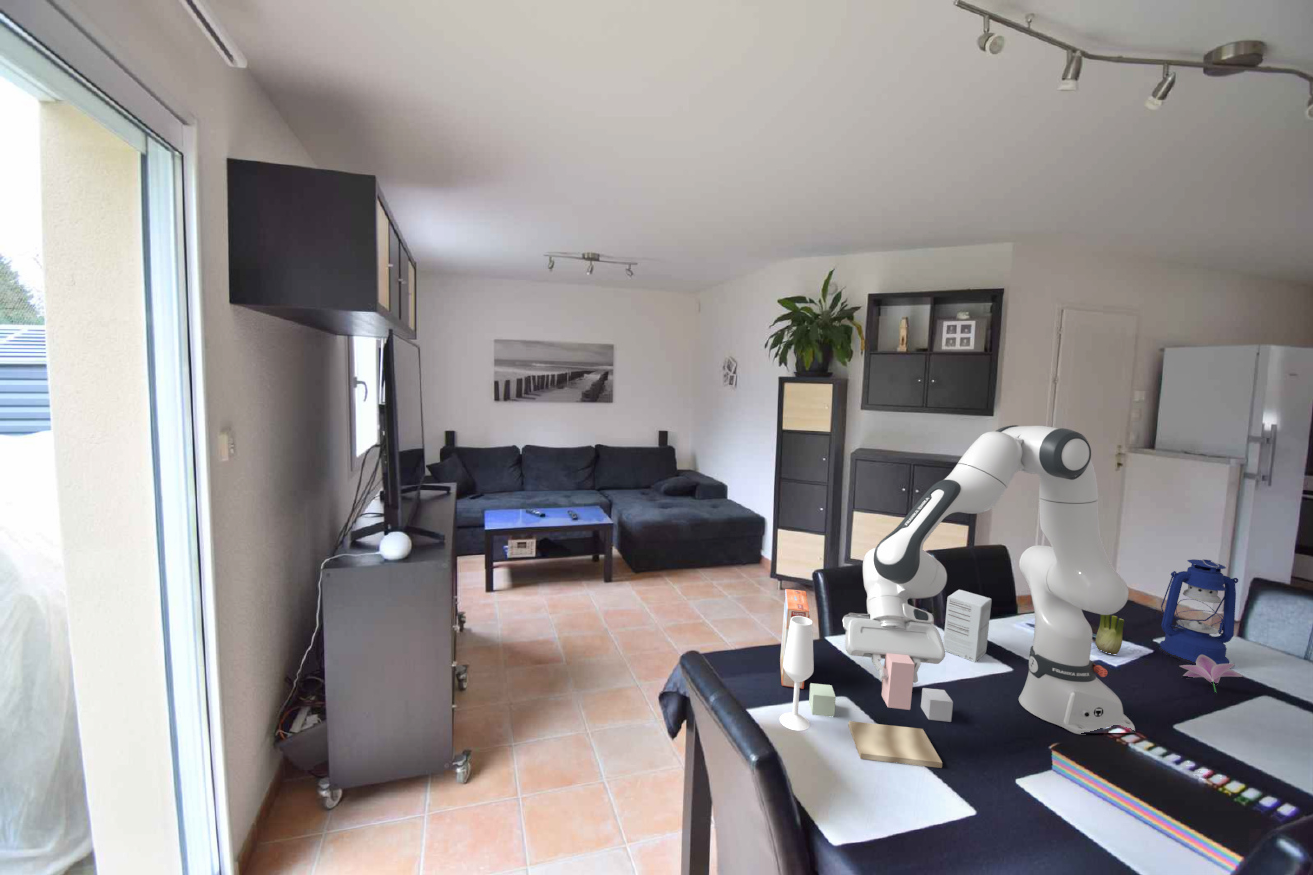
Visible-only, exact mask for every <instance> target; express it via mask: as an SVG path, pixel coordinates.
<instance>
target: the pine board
mask: <svg viewBox="0 0 1313 875" xmlns="http://www.w3.org/2000/svg"><path fill="white" fill-rule="evenodd" d="M847 726H848V730H849V732H850V735H851V737H852V740H853V742H854V745H855V747H856V750H857V754H858V756H859V759H862V760H869V761H878V762H886V763H894V762H895V764H902V763H904V764H905V763H906V764H905V765H913V766H921V767H929V768H938V769H939V768H940V769H942V768H943V762H942V759H941V757H940V756H939V754H938V753H937V751H936V749H935V747H934V746H933V744H932V743H931V740H930V739H929V737H928V735H927V734H926V732H925V731H924V728H917V727H911V726H910V727H908V726H899V725H892V724H891V725H888V724H879V723H871V722H862V721H852V720H849V721H848V724H847ZM896 762H897V763H896Z"/></svg>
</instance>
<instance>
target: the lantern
mask: <svg viewBox="0 0 1313 875" xmlns="http://www.w3.org/2000/svg"><path fill="white" fill-rule="evenodd" d="M1187 562H1189V564H1191V566H1189V567H1187V570H1186V571H1185V570H1183V571H1179V572H1177V571H1176V570H1173V571H1172V572H1171V573H1170V576H1171V577H1170V580H1169V583H1168V586H1167V589H1166V592H1165V595H1164V596H1163V600H1162V603H1161V605H1160V607H1161V612H1162V616H1163V617H1162V621H1161V624H1160V626H1161V629H1162V631H1163V632H1164V633H1165V636H1164V640H1161V641H1160V642H1159V646H1161V648H1162V649H1163V650H1165V651H1166V652H1168V653H1170V654H1172V655H1176V656H1178V657H1181V658H1183V659H1187V660H1190V661H1192V662H1195V663H1196V660H1197V658H1198V656H1199V655H1205V656H1207V657H1209V658H1210V659H1212V660H1213V661H1214V662H1215V663H1216V664H1217V665H1218V664H1229V663H1230V662H1231V661H1230V659H1229V658H1228V657H1226V656H1227V655H1226V654H1227V647H1226V646H1227V645H1226V643H1228V642H1230V641H1231V640H1232V639H1233V637H1234V635H1235V633H1234V632H1235V620H1236V619H1235V618H1236V616H1235V615H1236V602H1237V601H1236V599H1237V598H1236V597H1237V590H1236V584H1238V583H1239V579H1238V578H1237V577H1233V578H1231V577H1229V576H1227V575H1224V574H1223V573H1222V570H1225V569H1227V567H1226V566H1225V565H1222V564H1220V563H1217V562H1215V561H1213V560H1210V559H1202V560H1201V559H1187ZM1183 583H1184V584H1186V585H1187V589H1184V590H1183V592H1182V595H1183V596H1184V597H1186V598H1183V599H1180V600H1179V598H1180V594H1181V589H1182V587H1183V586H1182V585H1183ZM1219 592H1224V594H1223V597H1222V599H1221V597H1220V596H1218V595H1219ZM1167 594H1168V595H1167ZM1166 598H1167V599H1166ZM1188 599H1190V600H1193V601H1197V602H1200V603H1202V604H1204V605H1206V606H1207V607H1209V609H1211V610H1212V611H1210V610H1208V612H1210V613H1213V614H1211V615H1210V616H1208V617H1207V618H1205V619H1190V620H1187V619H1180V617H1179V615H1178V614H1180V613H1183V612H1187V610H1184V611H1179V612H1178V610H1177V607H1178V605H1179V604H1180V602H1182V601H1185V600H1188ZM1165 600H1166V603H1165ZM1204 602H1205V603H1204ZM1164 603H1165V608H1164ZM1206 603H1210V604H1218V606H1217V608H1216V610H1214V609H1213V608H1212V607H1211V606H1209V605H1208V604H1206ZM1222 604H1223V614H1221V613H1219V612H1218V611H1219V609H1220V607H1221V605H1222ZM1163 608H1164V609H1163ZM1192 611H1194V612H1195V611H1196V612H1197V611H1199V612H1201V611H1202V612H1206V610H1205V609H1203V610H1202V609H1192V610H1191V609H1190V610H1189V612H1192ZM1215 615H1217V616H1218V617H1219V619H1220V621H1218V622H1215V623H1213V624H1211V625H1209V624H1206V623H1203V622H1206V621H1208V620H1210V619H1211V618H1212V617H1213V616H1215ZM1174 619H1175V620H1176V625H1174V624H1173V621H1174ZM1216 624H1219V629H1217V628H1215V627H1213V626H1214V625H1216ZM1173 627H1175V628H1173ZM1217 634H1219V635H1218V636H1214V635H1217ZM1230 664H1231V663H1230Z"/></svg>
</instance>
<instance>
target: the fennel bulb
mask: <svg viewBox="0 0 1313 875" xmlns="http://www.w3.org/2000/svg"><path fill="white" fill-rule="evenodd" d="M1124 624H1125V619H1122V618H1118V616H1116V615H1111V614H1110V615H1101V614H1100V619H1099V626H1098V630H1097V632H1096V636H1095V641H1094V642H1095V646H1097V647H1096V648H1097V649H1098V650H1099V651H1100V650H1102V651H1104V652H1107V653H1111V654H1117V655H1118V653H1119V652H1120V651H1121V647H1122V644H1123V632H1124Z"/></svg>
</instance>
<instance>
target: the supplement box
mask: <svg viewBox="0 0 1313 875" xmlns="http://www.w3.org/2000/svg"><path fill="white" fill-rule="evenodd" d="M946 598H947V599H946V600H947V601H946V612H945V621H944V622H945V623H944V630H943V631H944V632H943V640H942V642H943V646H944V650H946V651H948V652H947V653H949V652H950V653H949V654H951V653H952V655H954V654H955V655H954V656H957V655H959V656H958V657H960V656H961V657H960V658H962V657H964V658H963V659H965V658H966V659H965V660H968V659H970V660H969V661H971V660H973V661H975V662H974V663H977V662H978V661H979V660H980V659H981V658H982V657H983V656H984V655H985V654H986V653H987V647H988V640H989V639H988V636H989V628H990V627H989V626H990V617H991V608H992V598H990V597H987V596H984V595H980V594H977V593H973V592H971V591H970V592H969V591H966V590H963V589H958V590H956V591H954V592H953V593H952V594H950V595H948V596H947V597H946ZM946 651H945V652H946ZM978 659H979V660H978ZM977 660H978V661H977ZM973 661H972V662H973ZM976 661H977V662H976Z"/></svg>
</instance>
